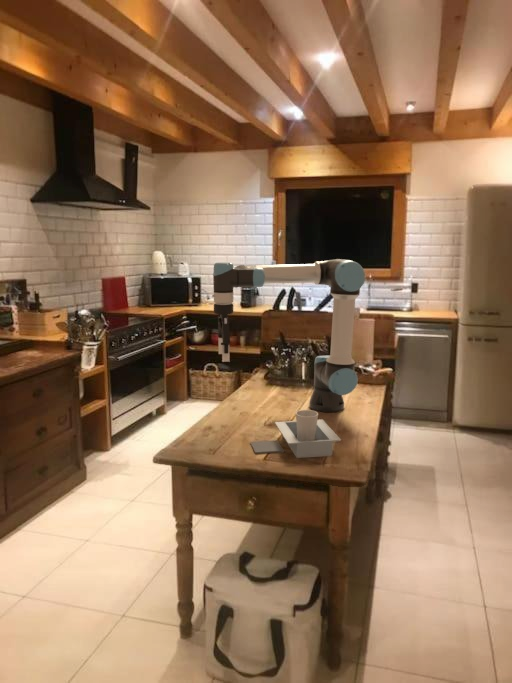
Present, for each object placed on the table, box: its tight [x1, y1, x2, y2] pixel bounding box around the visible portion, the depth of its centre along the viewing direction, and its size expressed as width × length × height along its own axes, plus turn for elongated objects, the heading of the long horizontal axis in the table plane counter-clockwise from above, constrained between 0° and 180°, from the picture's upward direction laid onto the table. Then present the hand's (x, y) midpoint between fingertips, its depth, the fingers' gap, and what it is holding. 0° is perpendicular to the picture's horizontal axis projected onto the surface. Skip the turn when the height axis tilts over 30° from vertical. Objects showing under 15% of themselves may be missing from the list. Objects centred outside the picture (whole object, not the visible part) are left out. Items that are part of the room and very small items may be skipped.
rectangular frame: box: [274, 419, 342, 459], centre depth 200 cm, size 19×22×6 cm
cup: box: [295, 409, 319, 442], centre depth 199 cm, size 8×8×12 cm
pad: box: [250, 439, 284, 455], centre depth 198 cm, size 10×10×1 cm
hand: (223, 357), depth 217 cm, fingers open, 13 cm apart
